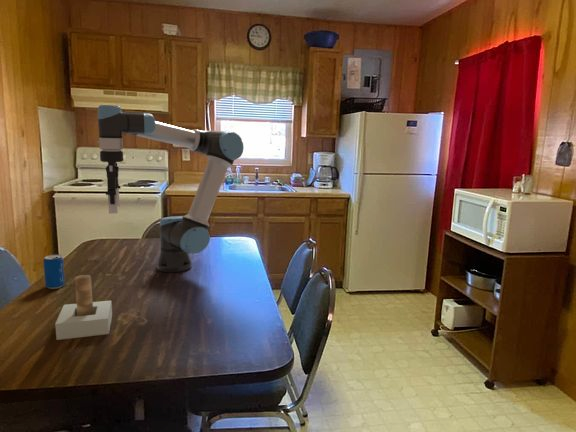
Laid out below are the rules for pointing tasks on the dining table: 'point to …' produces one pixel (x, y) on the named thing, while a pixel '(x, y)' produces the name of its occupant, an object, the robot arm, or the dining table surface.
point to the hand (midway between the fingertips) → (114, 209)
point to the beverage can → (54, 271)
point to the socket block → (84, 321)
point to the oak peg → (84, 295)
